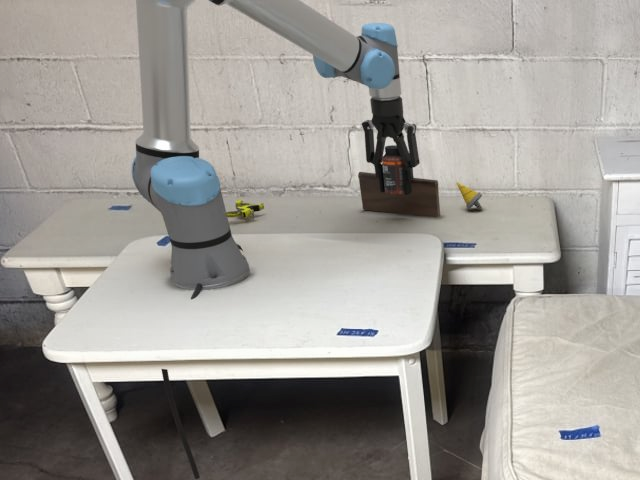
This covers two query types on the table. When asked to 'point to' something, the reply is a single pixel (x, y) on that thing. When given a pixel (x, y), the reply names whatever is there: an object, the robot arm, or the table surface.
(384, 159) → the supplement bottle
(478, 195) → the yellow spinning top
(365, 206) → the wooden wall
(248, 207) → the yellow black clamp
